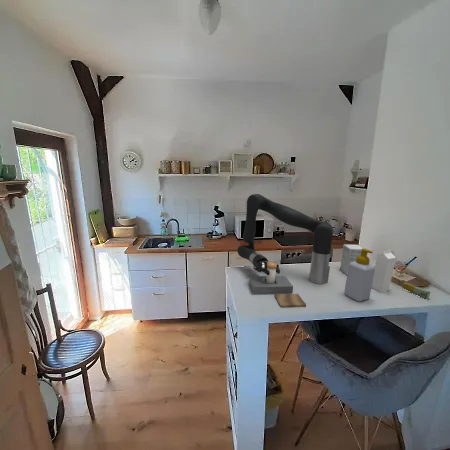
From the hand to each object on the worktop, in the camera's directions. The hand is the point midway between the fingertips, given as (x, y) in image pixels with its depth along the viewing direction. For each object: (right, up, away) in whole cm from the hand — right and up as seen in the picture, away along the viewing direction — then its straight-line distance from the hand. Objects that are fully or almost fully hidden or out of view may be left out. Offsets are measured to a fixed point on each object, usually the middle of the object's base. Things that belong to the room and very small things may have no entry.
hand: (274, 272), depth 126 cm
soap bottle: (+42, -12, -1) cm, 43 cm away
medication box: (+75, -12, +4) cm, 76 cm away
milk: (+59, -11, +8) cm, 60 cm away
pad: (+6, -12, -7) cm, 15 cm away
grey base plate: (-1, -9, +5) cm, 10 cm away
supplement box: (+53, -6, +28) cm, 60 cm away
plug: (-1, -9, +5) cm, 10 cm away
